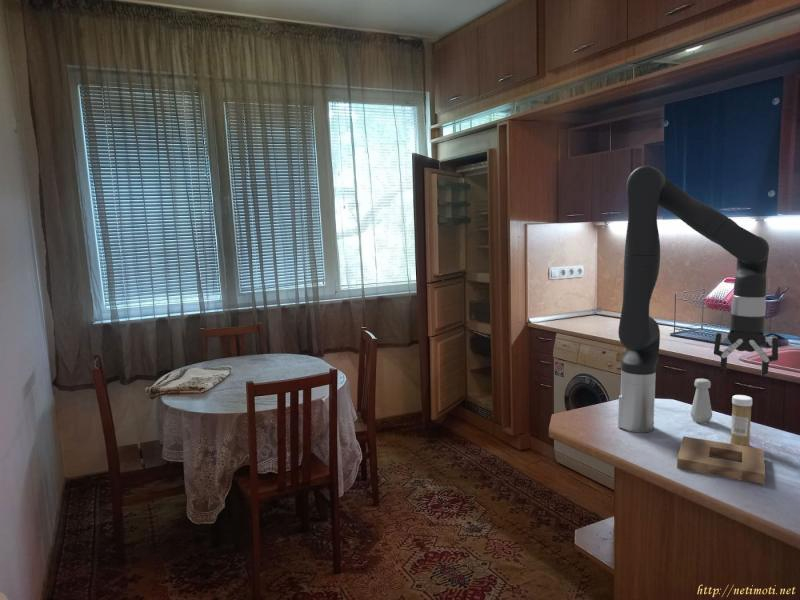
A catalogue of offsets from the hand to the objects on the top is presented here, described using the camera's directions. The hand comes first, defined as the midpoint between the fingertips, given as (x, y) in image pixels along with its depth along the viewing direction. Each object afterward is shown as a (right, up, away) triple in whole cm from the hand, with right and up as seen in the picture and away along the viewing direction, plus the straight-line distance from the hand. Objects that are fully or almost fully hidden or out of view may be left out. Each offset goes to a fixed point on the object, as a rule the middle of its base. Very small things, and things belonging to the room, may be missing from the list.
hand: (743, 373), depth 144 cm
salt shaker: (0, -18, +20) cm, 27 cm away
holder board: (-11, -21, -8) cm, 25 cm away
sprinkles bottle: (+1, -20, +3) cm, 20 cm away
